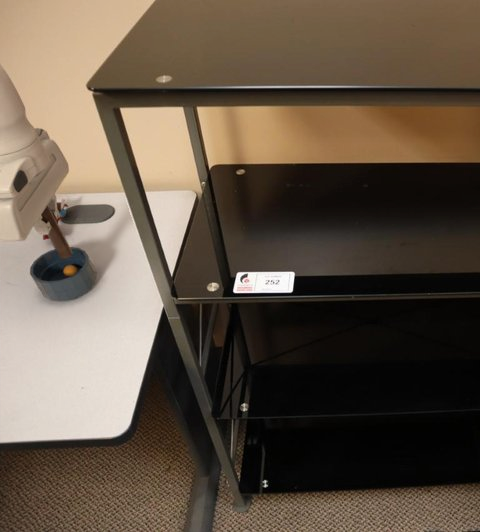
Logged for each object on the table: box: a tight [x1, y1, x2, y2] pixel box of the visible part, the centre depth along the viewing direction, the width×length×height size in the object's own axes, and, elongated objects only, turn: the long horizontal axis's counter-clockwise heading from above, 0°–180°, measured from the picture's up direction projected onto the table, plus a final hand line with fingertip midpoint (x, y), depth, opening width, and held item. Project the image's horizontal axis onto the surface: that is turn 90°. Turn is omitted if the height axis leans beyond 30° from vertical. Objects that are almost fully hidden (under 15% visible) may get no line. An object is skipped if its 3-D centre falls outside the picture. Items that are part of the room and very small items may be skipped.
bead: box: [63, 265, 78, 277], centre depth 99 cm, size 2×2×2 cm
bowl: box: [29, 246, 98, 302], centre depth 97 cm, size 10×10×6 cm
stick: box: [41, 205, 73, 259], centre depth 88 cm, size 2×2×15 cm
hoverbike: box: [42, 198, 69, 241], centre depth 108 cm, size 5×12×6 cm, turn 17°
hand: (49, 225), depth 89 cm, fingers closed on stick, 2 cm apart
